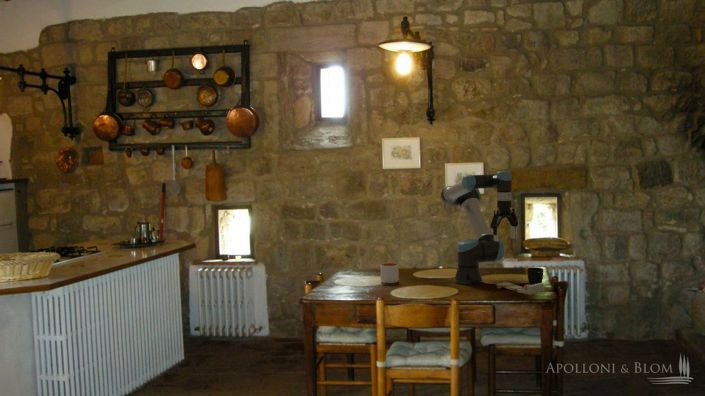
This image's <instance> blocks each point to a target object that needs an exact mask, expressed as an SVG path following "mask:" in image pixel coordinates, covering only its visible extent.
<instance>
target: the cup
mask: <svg viewBox="0 0 705 396" xmlns="http://www.w3.org/2000/svg"><path fill="white" fill-rule="evenodd" d="M379 265H380V282H381V283H383V284H395V283H396V284H397V283H398V282H399V264H398V263H394V262H393V263H392V262H387V263H381V264H379Z"/></svg>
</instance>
